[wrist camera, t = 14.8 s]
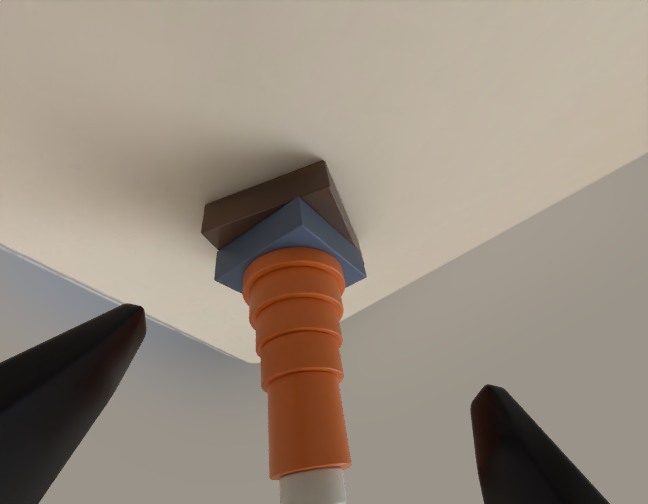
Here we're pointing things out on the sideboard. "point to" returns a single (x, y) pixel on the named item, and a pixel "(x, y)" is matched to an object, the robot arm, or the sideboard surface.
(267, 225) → the top block
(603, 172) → the sideboard surface
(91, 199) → the sideboard surface
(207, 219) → the base block
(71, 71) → the sideboard surface
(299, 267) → the cone
